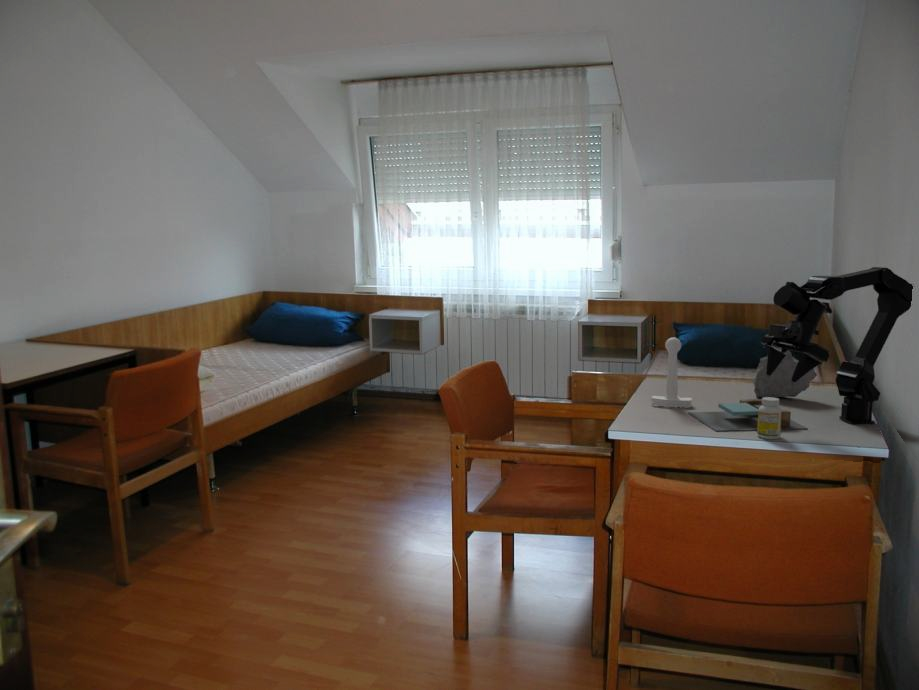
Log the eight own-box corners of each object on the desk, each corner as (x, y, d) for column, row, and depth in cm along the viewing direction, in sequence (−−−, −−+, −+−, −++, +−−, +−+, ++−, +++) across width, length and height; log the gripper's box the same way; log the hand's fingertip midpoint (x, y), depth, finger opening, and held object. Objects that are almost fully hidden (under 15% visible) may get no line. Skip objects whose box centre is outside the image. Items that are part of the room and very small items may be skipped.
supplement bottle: (771, 440, 194) (773, 402, 193) (752, 436, 199) (754, 398, 197) (784, 437, 197) (786, 399, 196) (765, 432, 202) (767, 395, 200)
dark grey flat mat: (772, 411, 224) (773, 397, 224) (807, 429, 205) (808, 413, 204) (688, 413, 223) (688, 398, 222) (715, 431, 203) (716, 415, 203)
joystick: (650, 406, 232) (652, 337, 229) (653, 400, 239) (655, 334, 236) (690, 408, 228) (693, 339, 225) (692, 403, 235) (694, 335, 232)
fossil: (814, 398, 241) (817, 348, 239) (815, 402, 235) (818, 352, 233) (753, 394, 247) (755, 346, 245) (752, 398, 241) (755, 349, 239)
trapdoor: (766, 411, 219) (766, 402, 219) (783, 420, 209) (784, 410, 209) (717, 412, 218) (718, 403, 218) (733, 421, 208) (733, 412, 208)
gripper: (758, 305, 209) (733, 360, 209) (810, 313, 191) (782, 372, 191) (789, 323, 213) (764, 376, 213) (842, 332, 195) (815, 390, 195)
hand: (780, 378), depth 203 cm, fingers open, 9 cm apart
